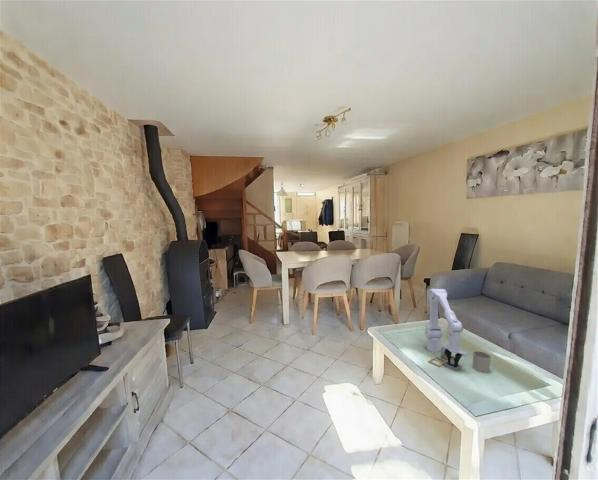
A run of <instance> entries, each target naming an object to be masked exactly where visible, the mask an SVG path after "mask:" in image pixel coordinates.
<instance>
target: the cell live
mask: <svg viewBox="0 0 598 480" xmlns="http://www.w3.org/2000/svg"><path fill="white" fill-rule="evenodd" d="M449 365H450V366H452V367H455V368H456V365H455V355H451V356H450V364H449Z"/></svg>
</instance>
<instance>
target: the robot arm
mask: <svg viewBox="0 0 598 480" xmlns="http://www.w3.org/2000/svg"><path fill="white" fill-rule="evenodd" d="M427 294H428V295H427V299H428V300H429V323H428V324H427V325H426V326H425V329H424V335H425V337H426V338H427V339H426V350H427V351H429V352H431V353H438V352H439V351H441V349H442V348H444V349H445V354H446V356H447V359H446V360H447V362H448V363H450V356H452V353H455V354H454V357H455V365H456V366H457V365H458V364H459V362H460V359H462V357H465V358H467V357H468V356H469V353H468V352H467V351H466V352H465V351H463V350H462V349H460V346H461V345H460V344H461V343H460V342H461V333H462V332H463V331H464V326H463V323H462V321H460V320H458V318H457V315H456V314H455V311H454V310H453V309H451V307H450V304H449V301H448V292H447V290H446V289H445V288H430V289H429V290H427ZM439 303H440V305H441V307H442V309H443V311H444V312H443V315H444V317H445V319H446V322H447V325H446V326H447V330H448V331H447V332H448V345H447V344H444V343H442V340H441V339H442V338H443V335H444V334H443V329H442V327H441V326H440V325H439Z"/></svg>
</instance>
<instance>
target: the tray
mask: <svg viewBox="0 0 598 480" xmlns="http://www.w3.org/2000/svg"><path fill="white" fill-rule="evenodd" d="M433 361H435V362H438V363H439V364H437V363H435V362H433ZM446 362H448V360H444V359H442V358H441V357H438V356H434V357H432V358H431V359H429V360H427V363H429V364H430V365H433V366H435V367H438V368H441V367H442V366H444V364H445V363H446Z"/></svg>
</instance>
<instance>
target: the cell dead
mask: <svg viewBox="0 0 598 480" xmlns="http://www.w3.org/2000/svg"><path fill="white" fill-rule="evenodd" d="M440 351H441V352H440V359H443V360H445V361H447V360H448V359H447V356H446V354H445V349H444V348H441V349H440Z"/></svg>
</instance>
